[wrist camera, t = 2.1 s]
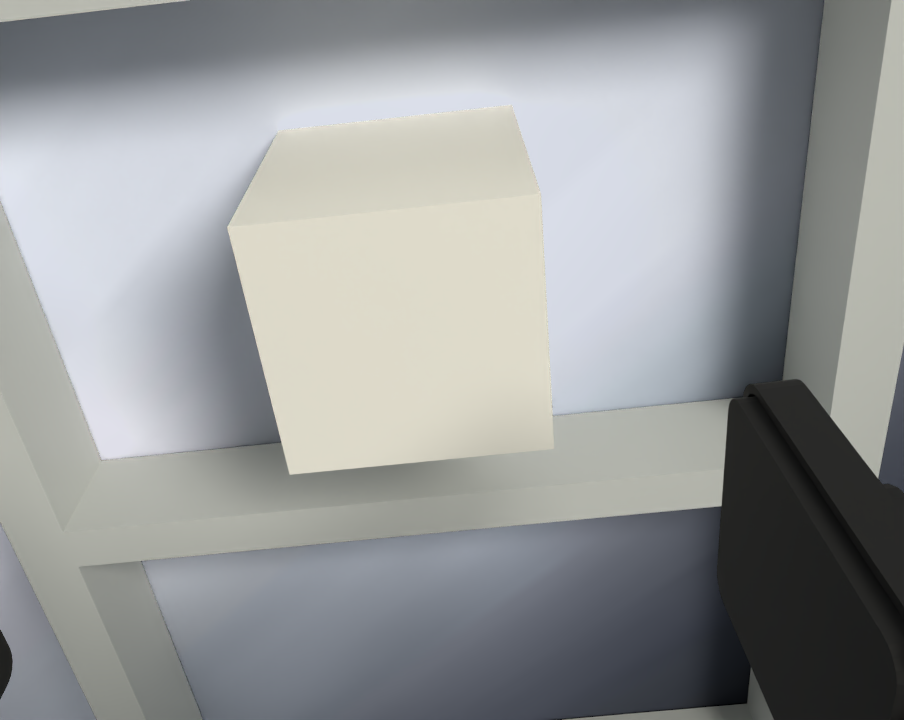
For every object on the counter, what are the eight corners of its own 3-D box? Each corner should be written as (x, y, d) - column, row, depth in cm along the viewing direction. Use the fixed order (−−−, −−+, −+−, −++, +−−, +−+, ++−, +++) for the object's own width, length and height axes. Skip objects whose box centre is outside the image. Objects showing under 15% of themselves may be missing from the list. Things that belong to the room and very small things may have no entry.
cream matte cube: (511, 104, 16) (541, 193, 12) (525, 311, 19) (554, 448, 14) (279, 129, 17) (226, 227, 12) (321, 332, 19) (289, 474, 15)
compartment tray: (958, -210, 14) (1130, -229, 11) (771, 919, 32) (813, 1049, 28) (-179, -73, 15) (-366, -49, 11) (263, 959, 32) (244, 1091, 29)
